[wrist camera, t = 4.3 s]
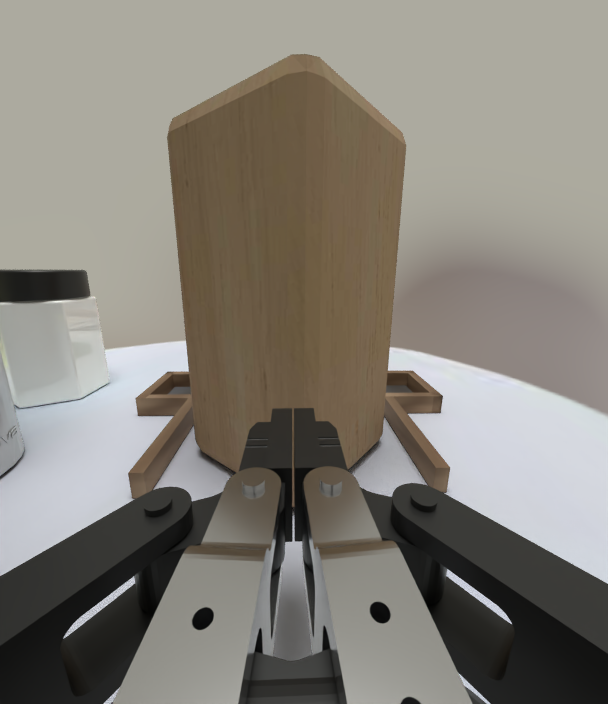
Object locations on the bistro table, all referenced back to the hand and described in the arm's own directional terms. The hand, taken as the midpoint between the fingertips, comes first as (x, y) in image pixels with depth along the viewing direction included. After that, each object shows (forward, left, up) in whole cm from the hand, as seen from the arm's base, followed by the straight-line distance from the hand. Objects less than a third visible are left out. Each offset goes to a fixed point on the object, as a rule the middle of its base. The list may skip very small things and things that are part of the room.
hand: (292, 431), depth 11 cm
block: (0, +10, -7) cm, 12 cm away
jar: (-24, +20, -7) cm, 32 cm away
